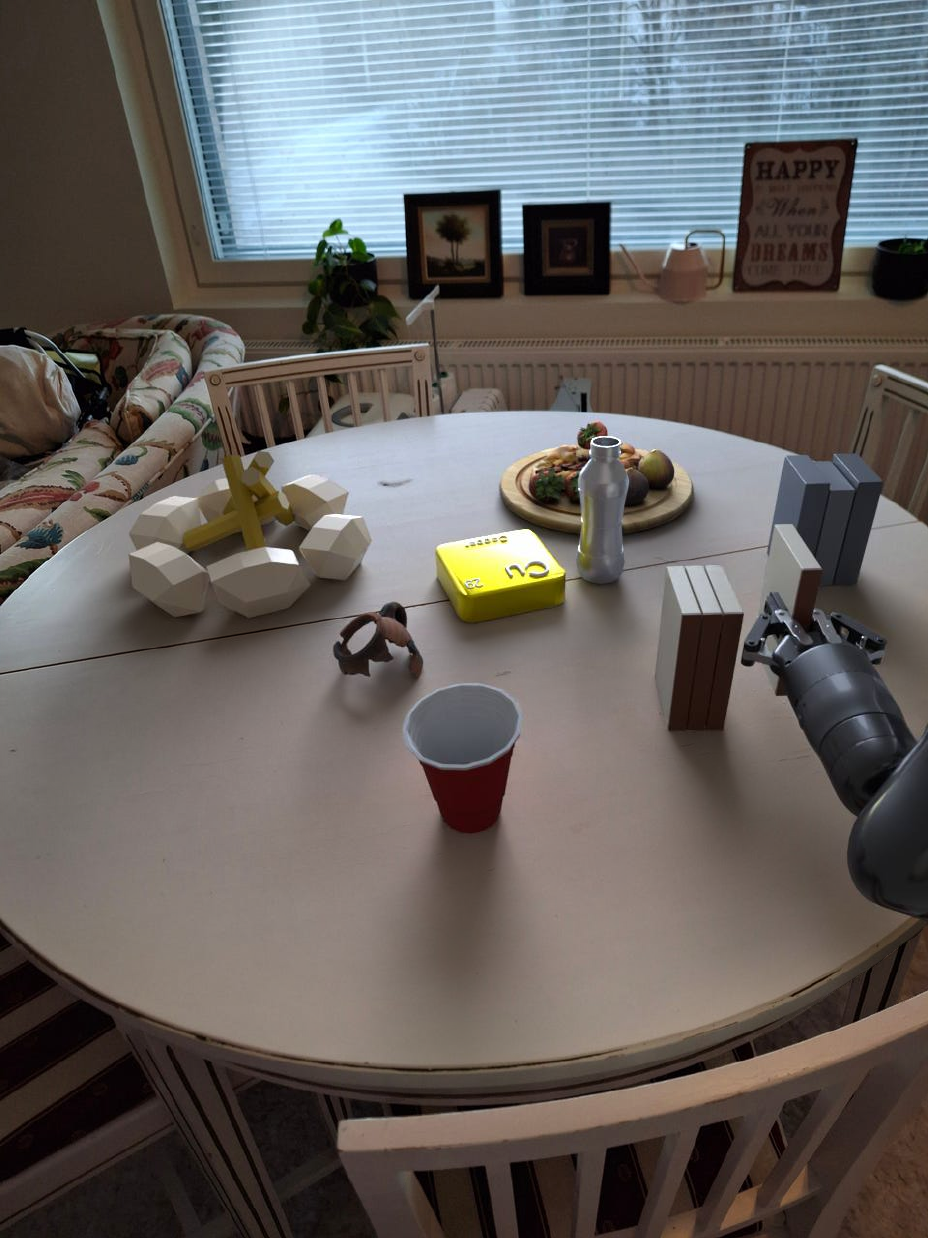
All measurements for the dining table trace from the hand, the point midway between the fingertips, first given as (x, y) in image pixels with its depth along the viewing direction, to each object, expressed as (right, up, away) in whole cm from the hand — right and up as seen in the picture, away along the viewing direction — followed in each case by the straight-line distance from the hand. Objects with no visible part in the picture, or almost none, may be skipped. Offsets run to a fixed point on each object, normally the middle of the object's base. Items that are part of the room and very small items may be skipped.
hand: (783, 598), depth 82 cm
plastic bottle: (-14, +4, +30) cm, 34 cm away
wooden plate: (-11, +19, +53) cm, 57 cm away
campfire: (-65, +7, +39) cm, 76 cm away
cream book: (0, -7, +4) cm, 9 cm away
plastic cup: (-32, -21, -4) cm, 39 cm away
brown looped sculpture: (-42, -8, +16) cm, 46 cm away
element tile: (-28, +2, +30) cm, 41 cm away
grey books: (+15, +5, +29) cm, 34 cm away
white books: (-8, -11, +8) cm, 16 cm away
